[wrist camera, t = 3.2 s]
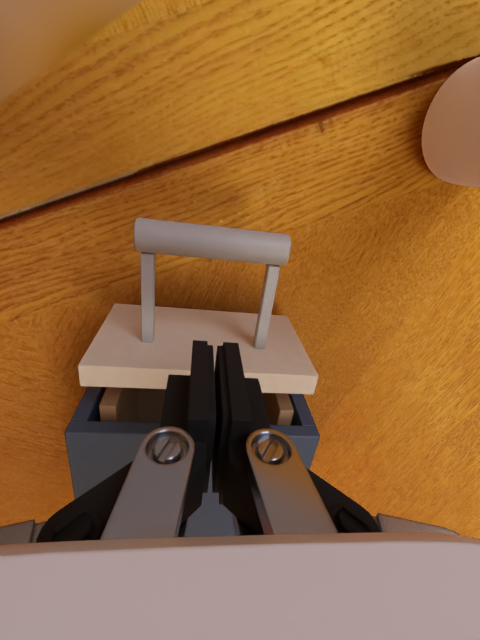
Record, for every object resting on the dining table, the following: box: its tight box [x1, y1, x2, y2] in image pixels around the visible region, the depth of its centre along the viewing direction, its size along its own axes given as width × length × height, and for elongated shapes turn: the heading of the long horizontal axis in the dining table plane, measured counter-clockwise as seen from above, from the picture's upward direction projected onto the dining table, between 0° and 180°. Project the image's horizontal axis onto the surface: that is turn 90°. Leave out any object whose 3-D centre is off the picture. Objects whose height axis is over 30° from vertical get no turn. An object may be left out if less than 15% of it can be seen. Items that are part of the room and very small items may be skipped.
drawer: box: [78, 218, 319, 425], centre depth 20 cm, size 20×11×7 cm, turn 173°
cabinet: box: [65, 386, 320, 537], centre depth 23 cm, size 15×13×9 cm
